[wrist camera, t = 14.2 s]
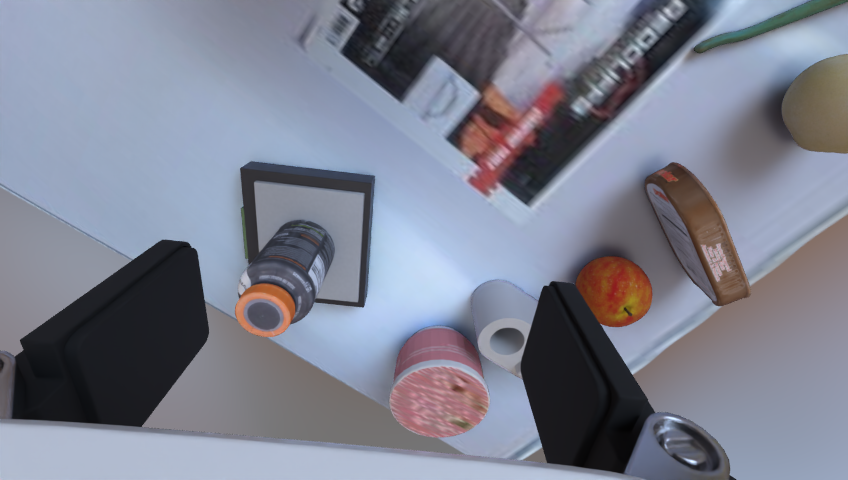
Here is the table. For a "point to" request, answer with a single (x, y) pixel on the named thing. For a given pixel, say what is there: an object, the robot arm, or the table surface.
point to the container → (438, 384)
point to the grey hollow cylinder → (502, 322)
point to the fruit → (615, 290)
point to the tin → (697, 233)
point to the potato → (819, 106)
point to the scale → (313, 219)
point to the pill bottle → (284, 278)
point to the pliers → (769, 24)
